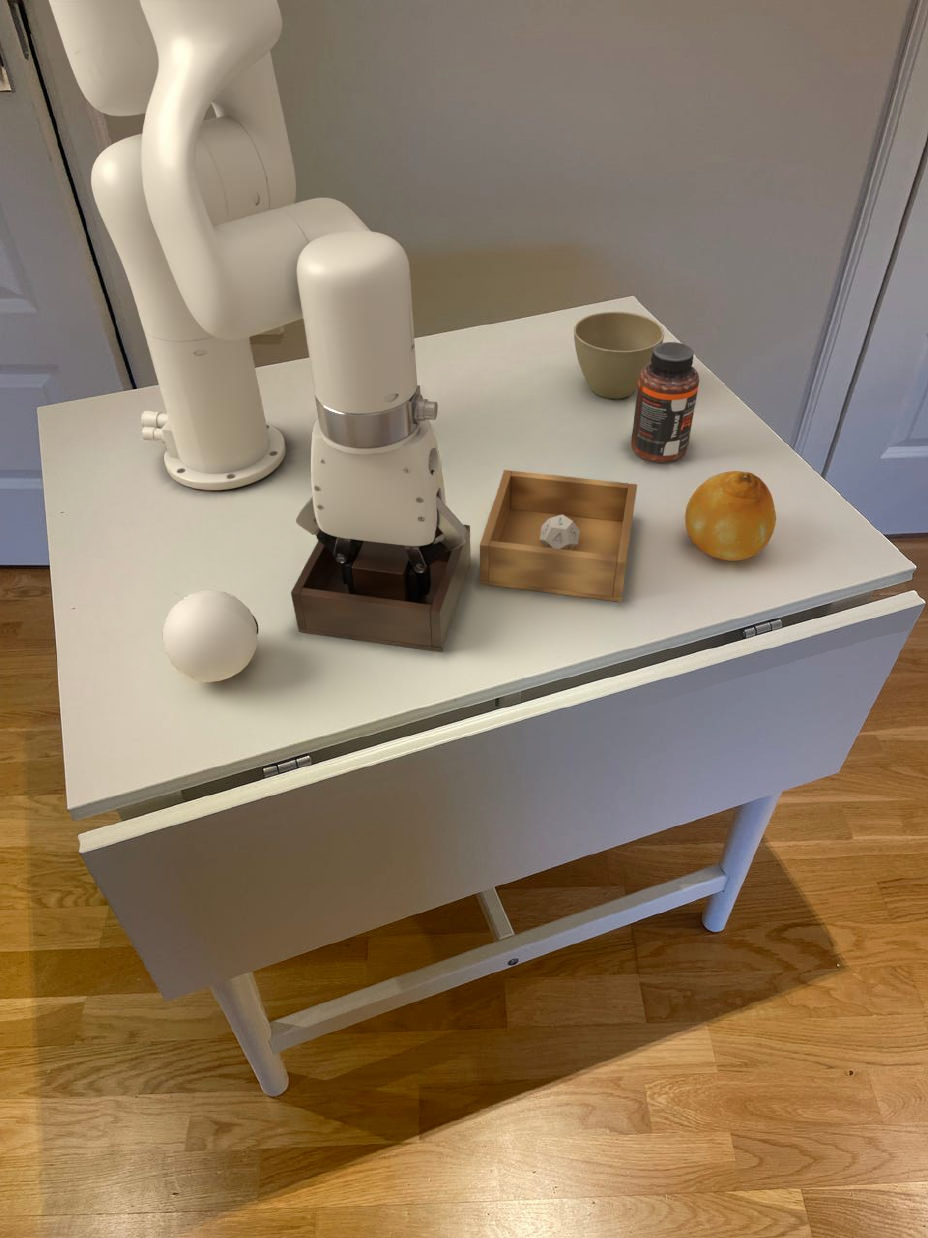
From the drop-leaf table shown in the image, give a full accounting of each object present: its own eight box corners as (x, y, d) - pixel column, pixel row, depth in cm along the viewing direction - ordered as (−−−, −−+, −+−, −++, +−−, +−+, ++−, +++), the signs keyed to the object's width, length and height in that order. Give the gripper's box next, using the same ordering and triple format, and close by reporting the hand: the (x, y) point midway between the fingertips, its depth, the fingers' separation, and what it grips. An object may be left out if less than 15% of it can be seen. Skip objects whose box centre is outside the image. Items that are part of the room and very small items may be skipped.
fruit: (797, 557, 80) (789, 466, 78) (708, 574, 79) (697, 483, 77) (760, 544, 88) (751, 461, 86) (678, 560, 87) (668, 477, 85)
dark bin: (298, 631, 78) (290, 592, 74) (340, 547, 86) (334, 508, 83) (441, 652, 75) (439, 612, 72) (470, 563, 84) (470, 524, 80)
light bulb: (278, 680, 74) (262, 614, 68) (188, 713, 71) (165, 648, 66) (241, 606, 80) (224, 541, 75) (157, 635, 78) (134, 569, 73)
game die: (580, 537, 85) (582, 512, 83) (574, 562, 83) (577, 537, 81) (543, 533, 86) (544, 507, 84) (536, 557, 83) (537, 532, 81)
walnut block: (356, 606, 79) (351, 567, 76) (371, 573, 82) (366, 534, 79) (406, 613, 78) (403, 574, 75) (419, 579, 81) (416, 540, 78)
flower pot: (662, 409, 102) (670, 350, 97) (573, 410, 103) (577, 352, 98) (650, 366, 110) (657, 309, 105) (567, 367, 110) (570, 310, 105)
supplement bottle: (686, 467, 94) (704, 367, 86) (628, 462, 95) (640, 362, 87) (687, 436, 98) (704, 338, 90) (632, 431, 99) (644, 334, 91)
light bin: (480, 584, 82) (479, 544, 78) (503, 507, 90) (504, 469, 87) (621, 602, 79) (626, 562, 76) (632, 522, 88) (637, 483, 84)
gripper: (490, 395, 69) (491, 577, 81) (279, 376, 72) (311, 555, 84) (469, 449, 63) (473, 635, 76) (242, 426, 66) (282, 609, 79)
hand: (388, 591), depth 80 cm, fingers open, 4 cm apart
